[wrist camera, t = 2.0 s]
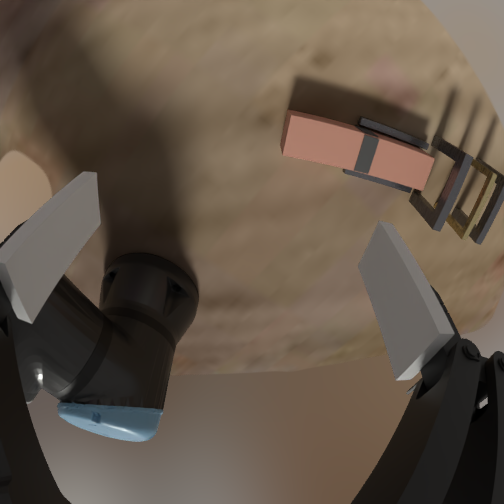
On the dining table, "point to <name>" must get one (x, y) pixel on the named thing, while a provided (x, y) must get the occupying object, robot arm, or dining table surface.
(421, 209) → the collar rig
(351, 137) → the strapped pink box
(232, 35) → the dining table surface
